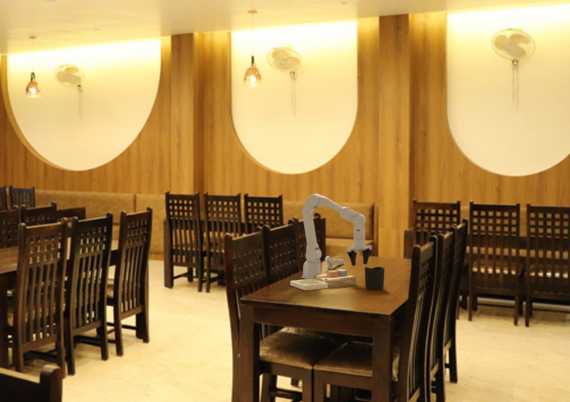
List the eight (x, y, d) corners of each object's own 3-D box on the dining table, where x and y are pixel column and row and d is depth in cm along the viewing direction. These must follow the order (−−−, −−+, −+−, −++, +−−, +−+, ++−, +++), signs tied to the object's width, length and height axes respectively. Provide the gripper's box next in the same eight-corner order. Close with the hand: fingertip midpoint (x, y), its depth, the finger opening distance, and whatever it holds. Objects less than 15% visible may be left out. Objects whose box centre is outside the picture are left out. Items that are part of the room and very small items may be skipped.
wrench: (344, 269, 382) (327, 270, 355) (341, 268, 383) (324, 270, 356) (344, 255, 383) (327, 256, 355) (341, 255, 384) (324, 256, 356)
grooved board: (313, 282, 321) (313, 275, 321) (340, 280, 329) (340, 272, 329) (329, 287, 309) (329, 279, 309) (356, 284, 317) (356, 276, 317)
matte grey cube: (336, 276, 322) (336, 270, 322) (342, 276, 324) (342, 269, 324) (340, 278, 318) (340, 271, 318) (347, 277, 320) (347, 270, 320)
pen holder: (368, 286, 314) (368, 265, 313) (386, 287, 310) (387, 267, 309) (361, 289, 306) (361, 268, 305) (380, 291, 301) (380, 270, 301)
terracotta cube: (326, 277, 319) (326, 270, 319) (333, 277, 321) (333, 270, 321) (331, 279, 316) (331, 272, 315) (338, 278, 318) (338, 271, 317)
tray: (290, 285, 315) (290, 281, 315) (313, 283, 321) (313, 278, 321) (305, 290, 303) (305, 285, 302) (328, 287, 309) (328, 283, 309)
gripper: (353, 239, 317) (353, 267, 318) (375, 237, 325) (375, 264, 326) (344, 238, 323) (344, 265, 324) (366, 236, 331) (366, 262, 332)
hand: (359, 264), depth 325 cm, fingers open, 7 cm apart
